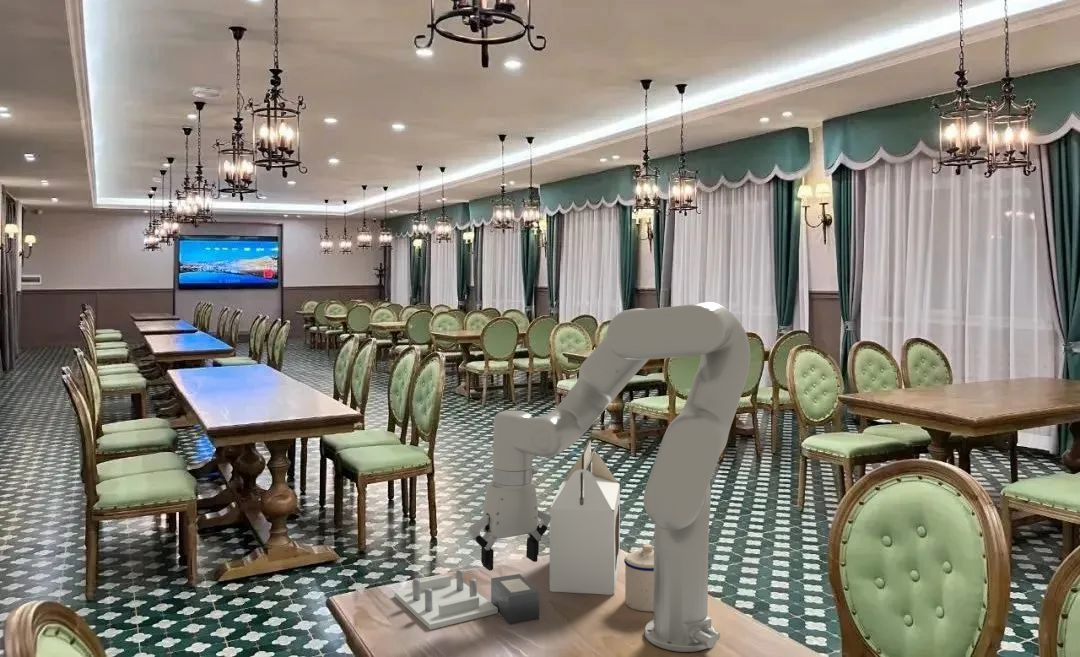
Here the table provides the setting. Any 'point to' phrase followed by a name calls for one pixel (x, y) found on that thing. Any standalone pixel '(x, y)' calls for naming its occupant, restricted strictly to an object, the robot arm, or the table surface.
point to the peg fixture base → (445, 601)
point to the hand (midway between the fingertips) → (510, 563)
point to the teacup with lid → (640, 579)
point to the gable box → (585, 529)
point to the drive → (515, 599)
